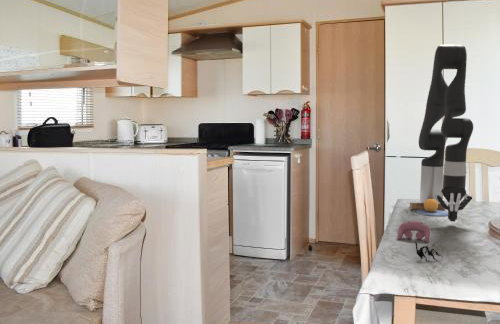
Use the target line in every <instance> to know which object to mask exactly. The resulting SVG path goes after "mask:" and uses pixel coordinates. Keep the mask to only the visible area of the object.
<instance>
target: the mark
mask: <svg viewBox="0 0 500 324" xmlns="http://www.w3.org/2000/svg"><path fill="white" fill-rule="evenodd" d="M415 212H416V213H417V214H419V215H422V216H423V215H424V216H429V217H448V211H445V210H436V211H434V212H428V211H427V210H426V209H423V210H419V209H416V211H415Z"/></svg>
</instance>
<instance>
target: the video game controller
mask: <svg viewBox="0 0 500 324" xmlns="http://www.w3.org/2000/svg"><path fill="white" fill-rule="evenodd" d="M412 231H413V232H414V231H415V232H416V233H415V238H416V239H417V240H418V241H419V240H420V241H421V240H423V238H424V242H425V243H429V242H430V239H431V228H430V226H429V225H427V224H426V223H425V222H421V221H417V220H416V221H414V220H410V221H403V222H401V224H400V225H399V226H398V230H397V239H398V240H399V241H400V240H401V239H402V238H403V236H404V235H405V237H406V239H409V240H410V239H412V238H413V237H414V235H413V232H412Z"/></svg>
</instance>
